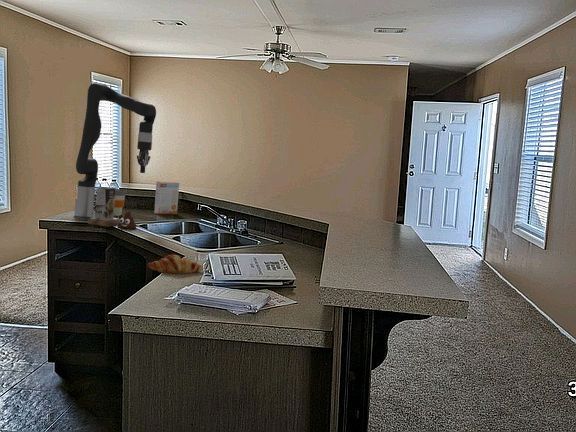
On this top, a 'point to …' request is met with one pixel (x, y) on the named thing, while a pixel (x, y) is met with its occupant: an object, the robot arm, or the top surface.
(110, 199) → the coffee box
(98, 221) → the square wooden picture frame
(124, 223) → the poop emoji
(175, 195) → the cracker box
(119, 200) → the reusable coffee cup
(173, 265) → the croissant
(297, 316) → the top surface
